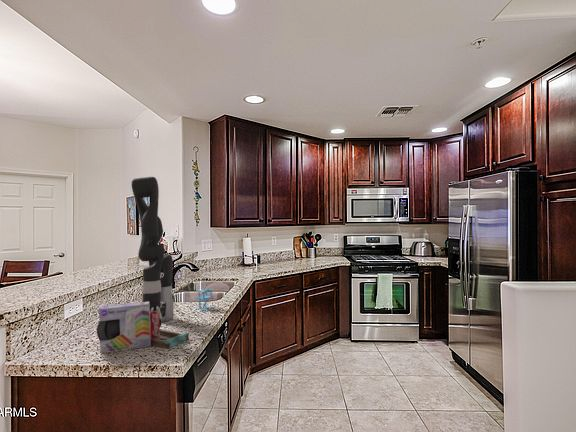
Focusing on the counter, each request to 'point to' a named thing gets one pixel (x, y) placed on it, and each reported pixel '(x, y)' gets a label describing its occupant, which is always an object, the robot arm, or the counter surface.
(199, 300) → the light blue translucent piece
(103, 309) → the cake pan box
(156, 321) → the beverage can
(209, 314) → the counter surface
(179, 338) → the guide channel
